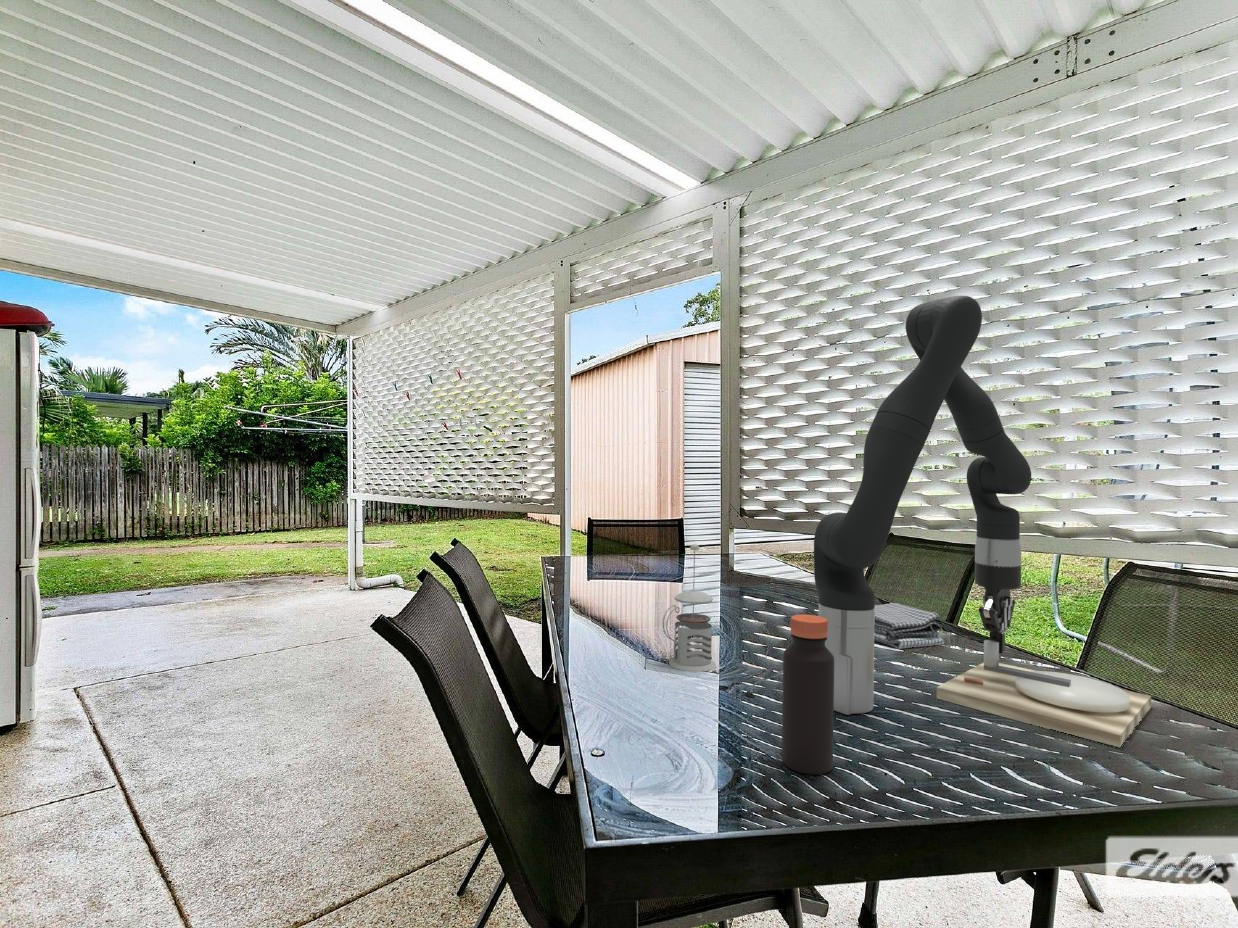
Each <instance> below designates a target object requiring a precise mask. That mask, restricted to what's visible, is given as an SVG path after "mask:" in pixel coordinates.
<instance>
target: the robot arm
mask: <svg viewBox="0 0 1238 928" xmlns="http://www.w3.org/2000/svg"><path fill="white" fill-rule="evenodd" d="M982 323H983V313H982V308H981V306H980V304H979V302H978V301H977V300H976V299H975V298H973V297H971V296H969V295H954V296H948V297H944V298H939V299H935V300H931V301H927V302H923V303H920V304H918V305H916V306H914V307H913V308H912V309H911V310H910V311H909V313H908V315H907V317H906V321H905V332H906V337H907V340H908V341H909V344H910V346H911V348H912V349H913V351H914V354H916V356H917V357H918V359H919V362H918V364H917V365H916V366H915V368H914V369H913V370H912V371H911V372H910V373H909V374H908V376H906V377H905V378H904V379H903V380H902V381H901V382H900V383H899V384H898V385H897V386H896V387H895V388H894V389H893V390H892V391H891V392H890V393H889V394H888V395H887V397H886V398H885V399H884V400H883V401H882V403H881V404H880V405H879V408H878V410H877V411H876V413H875V415H874V417H873V421H872V422H871V425H870V427H869V430H868V431H867V434H866V436H865V441H864V446H863V459H862V460H863V464H862V465H863V466H862V467H863V471H862V477H861V481H860V486H859V488H858V491H857V493H856V494H855V497H854V499H853V502H852V504H851V505H850V507H849V508H848V510H847V512H839V511H838V512H833V513H829V514H827V515H825V516H824V517H823V518H821V520H820V521H819V522H818V524H817V526H816V528H815V531H814V538H813V569H814V570H813V571H814V572H813V573H814V585H815V588H816V591H817V594H818V616H820V617H823V618H825V619H827V620H828V633H827V640H826V641H825V647H826V648H827V649H828V650H829V651H830V652H831V653H832V655H833V656H834V711H835V712H838V713H840V714H844V715H846V716H847V715H852V714H866V713H869V712H872V711H873V709H874V695H875V694H874V691H875V690H874V689H875V688H874V686H875V684H874V682H875V681H874V680H875V679H874V678H875V677H874V675H875V673H874V672H875V641H874V625H875V605H876V604H875V603H876V597H875V596H876V595H875V592H874V590H873V589H872V587H871V586H870V584H869V583H868V581H867V578H866V575H865V569H867V568H869V567H871V566H872V565H874V564H875V563H876V562H877V561H878V560H879V559H880V557H881V556H882V553H883V551H884V549H885V547H886V544H887V541H888V538H889V535H890V532H891V528H892V526H893V522H894V519H895V515H896V512H897V509H898V505H899V504H900V500H901V498H902V496H903V493H904V490H905V489H906V487H907V485H908V483H909V480H910V477H911V474H912V473H913V470H914V467H915V464H916V462H917V460H918V459H919V456H920V455H921V452H922V451H923V448H924V446H925V445H926V442H927V439H928V438H929V436H930V433H931V431H932V428H933V425H934V422H935V420H936V418H937V416H938V414H939V410H940V409H941V406H942V404H943V403H946V405H947V407H948V410H949V412H950V414H951V416H952V418H953V421H954V424H955V426H956V429H957V431H958V434H959V437H960V438H961V441H962V443H963V446H964V447H965V449H966V450H967V451H968V453H971V454H975V455H979V456H980V457H977V458H975V459H973V461H971V462H970V464H969V465H968V468H967V471H966V483H967V487H968V488H967V489H968V491H969V494H970V497H971V501H972V504H973V509H974V512H975V515H976V540H975V545H974V583H975V584H976V585H977V586H979V587H983V588H984V589H985V591H984V595H983V596H982V604H983V606H979V607H978V613H979V616H980V619H981V623H982V625H983V626H982V627H983V628H984V630H985V631H987V632H988V633H989V640H992V641H997V642H999V655H1000V654H1003V653H1004V652H1005V651H1006V633H1007V631H1008V629H1010V627H1011V624H1012V623H1011V622H1012V618H1013V615H1014V610H1015V605H1016V601H1015V599H1013V597H1012V596H1011V591H1012V590H1019V589H1020V588H1021V587H1022V547H1021V540H1020V536H1021V534H1020V531H1021V529H1020V527H1021V520H1020V519H1021V517H1020V516H1021V515H1020V513H1019V511H1018V510H1017V509H1016V508H1013V507H1011V506H1007V505H1004V504H1003V503H1001V501H1000V500H999V498H998V495H1020V494H1022V493H1025V492H1026V491H1027V490H1028V488H1029V487H1030V484H1031V481H1032V470H1031V467H1030V464H1029V463H1028V460H1027V459H1026V458H1025V456H1024V455H1023V453H1022V452H1021V451H1020V450H1019V449H1018V447H1017V446H1016V445H1015V443H1014V442H1013V440H1011V438H1010V437H1009V436H1008V435H1007V433H1006V432H1005V431H1006V430H1005V429H1004V426H1003V423H1002V420H1001V419H1000V416H999V413H998V409H997V407H996V406H995V404H994V402H993V401H992V399H991V398H990V396H989V394H987V392H985V390H984V389H983V388H982V387H981V386H980V385H979V384H978V383H977V382H976V381H975V380H973V378H971V377H970V376H969V374H968V373H967V372H966V371H965V370H964V368H963V367H962V365H963V364H964V362H965V361H966V359H967V357H968V356H969V353H970V352H971V350H972V348H973V347H974V344H975V343H976V341H977V339H978V336H979V335H980V331H981V327H982ZM997 494H998V495H997Z"/></svg>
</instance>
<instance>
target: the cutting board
mask: <svg viewBox="0 0 1238 928" xmlns="http://www.w3.org/2000/svg"><path fill="white" fill-rule="evenodd" d="M999 666H1004V667H1009V668H1014V669H1019V670H1024V671H1036V670H1033V669H1031V668H1030V669H1029V668H1025V667H1020V666H1016V665H1012V664H1007V663H1002V662H999ZM1122 690H1123V691H1125V692H1126V693H1128V694H1129V696H1130V708H1129V709H1128V710H1126V711H1122V712H1113V713H1105V712H1091V711H1083V710H1077V709H1071V708H1066V707H1062V706H1058V705H1054V704H1050V703H1047V702H1043V701H1040V700H1037V699H1035V698H1032V697H1030V696H1028V695H1026V694H1024V693H1022V692H1020V691H1019V690H1018V689H1017V688H1016V686H1015V676H1012V675H1007V674H1003V673H998V672H993V671H988V670H984V662H982V663H980V664H978V665H976V666H974V667H972V668H971V669H968V670H966V671H965V672H963V673H961V674H959V675H957V676H954V677H953V678H951V679H950V680H948V681H946V682H944V683H941V684H940V685H939V686H938V685H937V687H936V699H938V700H940V701H941V700H942V701H945V702H949V703H951V704H952V703H953V704H955V705H956V704H957V705H960V706H963V707H966V708H969V709H970V708H971V709H974V710H978V711H981V712H985V713H988V714H991V715H997V716H999V717H1003V718H1007V719H1010V720H1013V721H1018V722H1022V723H1025V724H1028V725H1031V724H1032V726H1035V727H1039V726H1040V727H1039V728H1042V727H1043V728H1042V729H1046V730H1050V729H1053V730H1056V731H1055V732H1057V731H1059V732H1058V733H1060V732H1064V733H1067V734H1066V735H1068V734H1072V735H1075V736H1079V737H1084V738H1087V739H1091V740H1095V741H1099V742H1104V743H1106V744H1109V745H1114V746H1117V747H1121V745H1122V744H1123V742H1125V743H1126V741H1127V740H1128V739H1127V737H1128V738H1130V736H1131V735H1132V733H1134V731H1135V730H1136V728H1137V727H1138V726H1139V724H1140V723H1141V722H1140V721H1142V720H1143V719H1144V718H1145V716H1146V715H1147V714H1148V712H1149V711H1150V710H1151V708H1152V696H1151V695H1150V694H1149V695H1148V694H1143V693H1139V692H1135V691H1129V690H1125V689H1122ZM1142 718H1143V719H1142ZM1139 722H1140V723H1139ZM1137 725H1138V726H1137ZM1136 726H1137V727H1136ZM1135 727H1136V728H1135ZM1053 730H1052V731H1053ZM1133 730H1134V731H1133ZM1064 733H1063V734H1064ZM1130 734H1131V735H1130ZM1129 735H1130V736H1129ZM1075 736H1074V737H1075ZM1126 739H1127V740H1126ZM1125 740H1126V741H1125ZM1123 745H1124V744H1123ZM1123 745H1122V746H1123ZM1121 748H1122V747H1121Z"/></svg>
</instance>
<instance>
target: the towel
mask: <svg viewBox="0 0 1238 928" xmlns="http://www.w3.org/2000/svg"><path fill="white" fill-rule="evenodd" d="M938 619H940V615H939V614H938V613H937V612H934V611H927V610H924V609H920V608H918V607H917V608H916V607H913V606H909V605H906V604H905V605H904V604H902V603H897V602H890V603H885V604H884V603H883V604H875V625H874V642H879V643H881V644H884V645H887V646H890V647H892V648H895V649H897V650H901V649H902V650H904V649H910V648H912V647H914V648H922V647H934V646H933V645H935V646H944V645H945V641H944V639H943V638H942V637H941V636H940V634H941V632H939V631H940V630H941V629H942V625H940V623H937V622H936V621H937V620H938Z"/></svg>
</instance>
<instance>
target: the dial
mask: <svg viewBox="0 0 1238 928" xmlns="http://www.w3.org/2000/svg"><path fill="white" fill-rule="evenodd" d="M999 656H1000V654H999V642H997V641H992V640H990V639H985V640H983V663H984V670H988V671H993V672H998V673H1003V674H1007V675H1012V676H1015V686H1016V688H1017V689H1018V690H1019V691H1020V692H1022V693H1024V694H1026V695H1028V696H1030V697H1032V698H1035V699H1037V700H1040V701H1043V702H1047V703H1050V704H1054V705H1058V706H1062V707H1066V708H1071V709H1077V710H1083V711H1091V712H1105V713H1113V712H1122V711H1126V710H1128V709H1129V708H1130V696H1129V694H1128V693H1126V692H1125V691H1123V690H1124V689H1122V688H1120V687H1118V686H1115V685H1113V684H1110V683H1107V682H1104V681H1101V680H1097V679H1094V678H1089V677H1086V676H1082V675H1081V676H1080V675H1077V674H1076V675H1075V674H1072V673H1071V674H1070V673H1064V672H1059V671H1058V672H1057V671H1047V670H1035V671H1024V670H1019V669H1014V668H1009V667H1004V666H999V663H1000V661H999V660H1000V657H999Z"/></svg>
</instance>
